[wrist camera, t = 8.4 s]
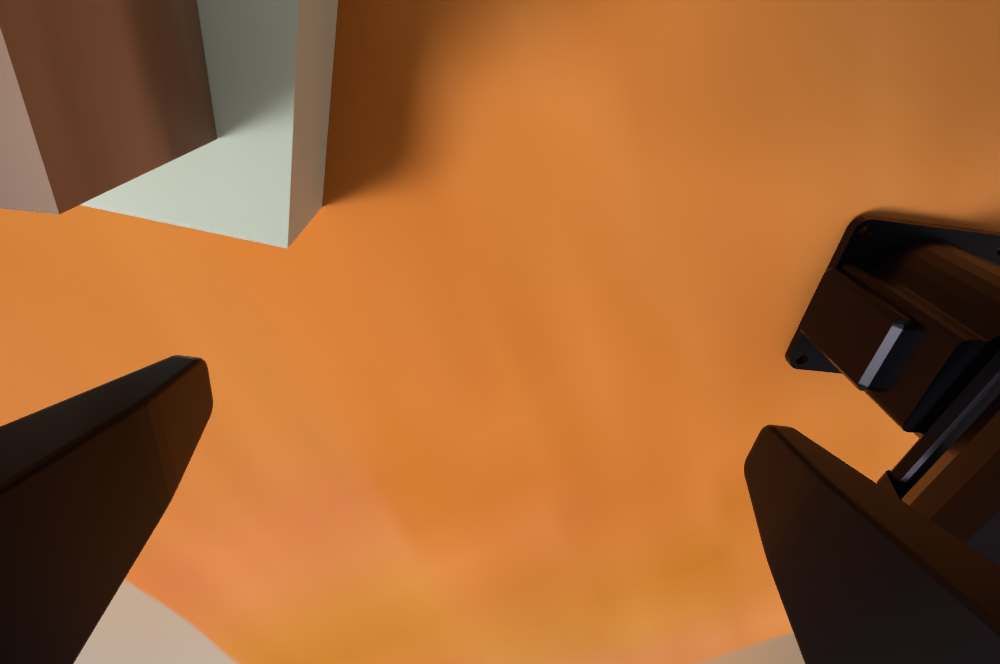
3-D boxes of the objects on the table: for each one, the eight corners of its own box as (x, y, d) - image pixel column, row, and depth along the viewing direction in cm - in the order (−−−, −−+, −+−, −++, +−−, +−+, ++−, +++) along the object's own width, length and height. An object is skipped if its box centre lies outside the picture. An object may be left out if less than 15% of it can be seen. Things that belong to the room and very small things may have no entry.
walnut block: (185, -77, 12) (-56, -149, 6) (217, 138, 14) (59, 214, 9) (-39, -110, 11) (-489, -214, 6) (32, 118, 13) (-248, 184, 8)
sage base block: (347, -113, 14) (305, -150, 11) (323, 205, 19) (287, 248, 15) (-23, -227, 13) (-203, -312, 10) (45, 143, 18) (-61, 175, 14)
